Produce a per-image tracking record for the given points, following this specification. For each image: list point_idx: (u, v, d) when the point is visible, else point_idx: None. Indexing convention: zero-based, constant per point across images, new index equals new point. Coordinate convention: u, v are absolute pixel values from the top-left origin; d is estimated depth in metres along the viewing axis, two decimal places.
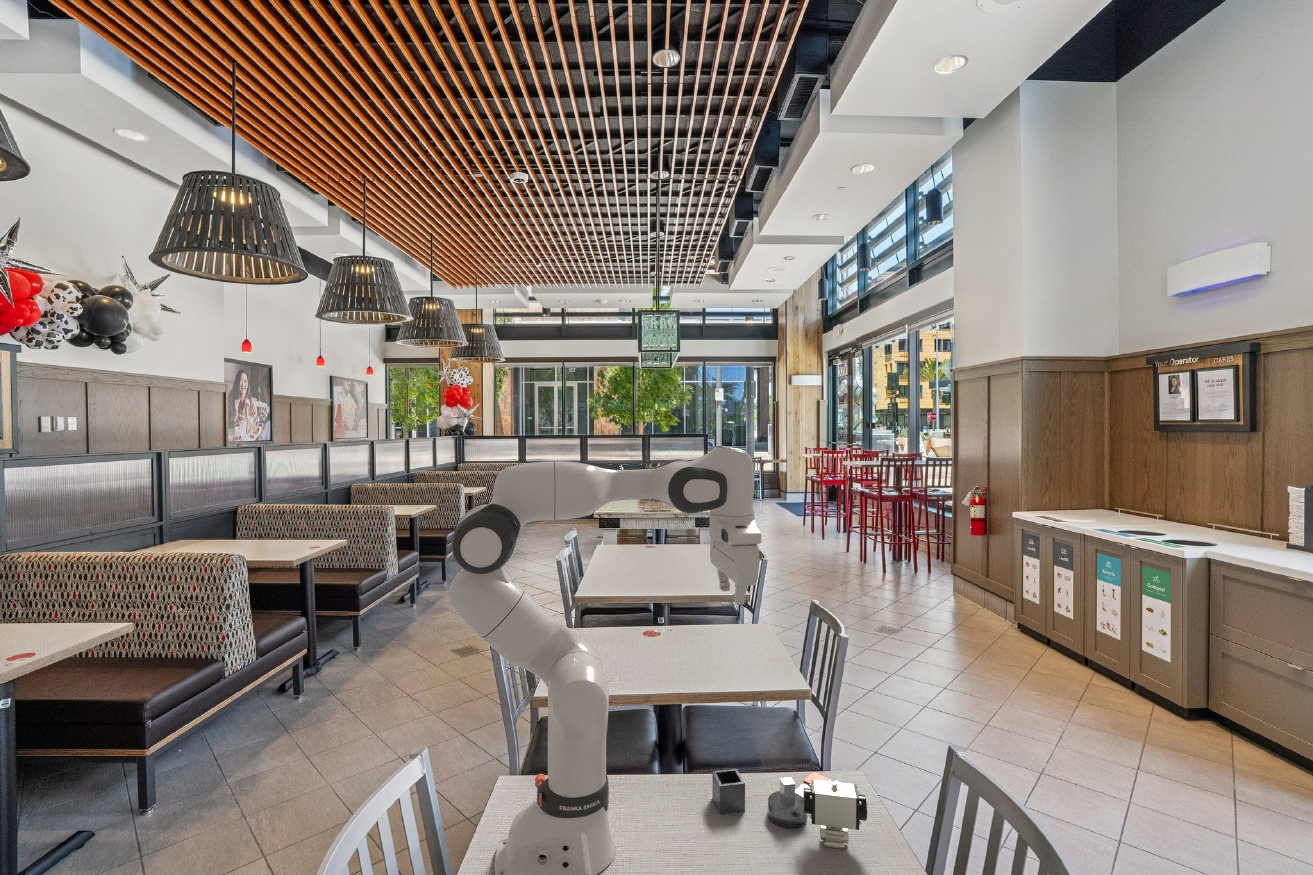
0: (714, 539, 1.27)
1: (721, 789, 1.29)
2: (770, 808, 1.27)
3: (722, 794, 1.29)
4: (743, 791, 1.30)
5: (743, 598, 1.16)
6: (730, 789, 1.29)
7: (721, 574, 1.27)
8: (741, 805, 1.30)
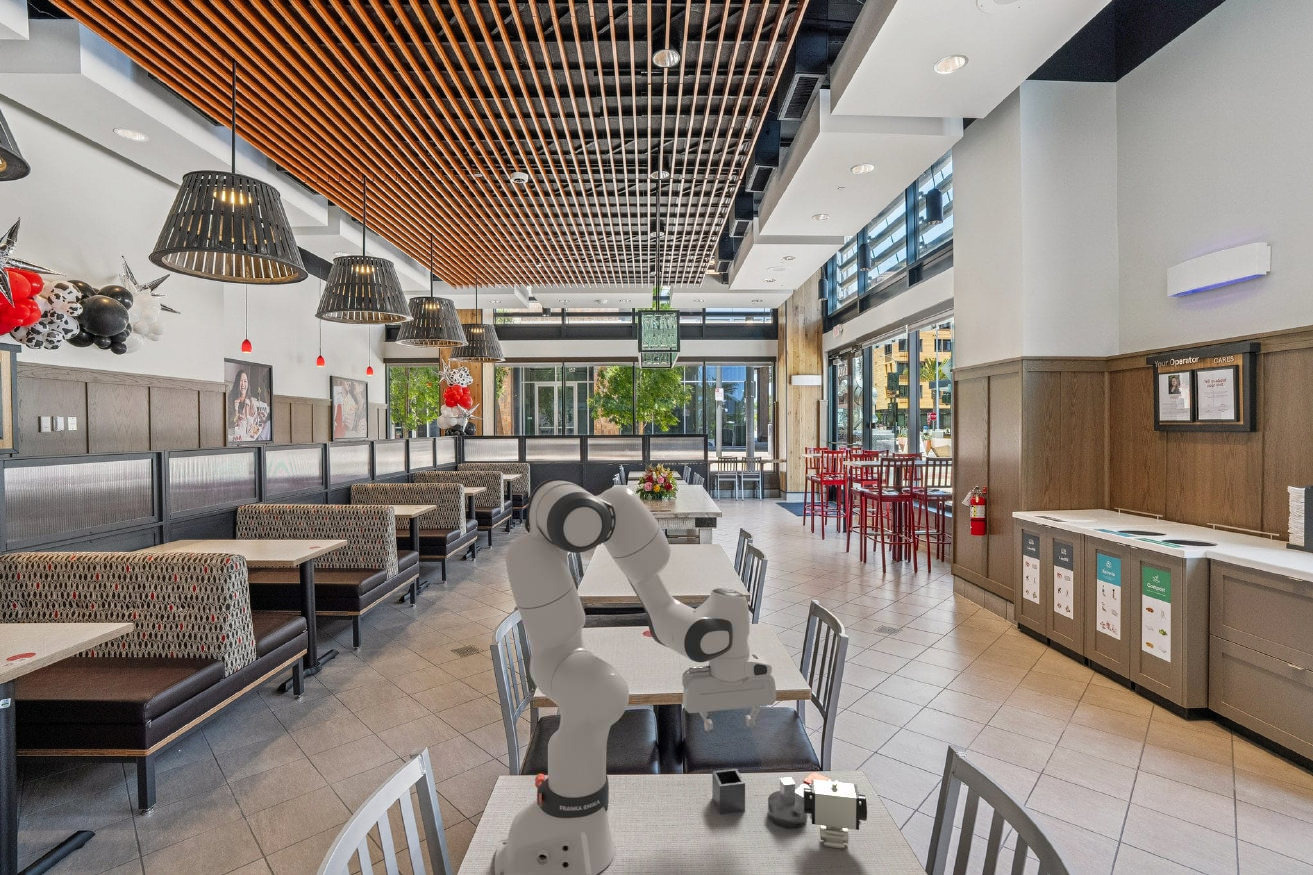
0: (703, 686, 1.29)
1: (721, 789, 1.29)
2: (770, 808, 1.27)
3: (722, 794, 1.29)
4: (743, 791, 1.30)
5: None
6: (730, 789, 1.29)
7: None
8: (741, 805, 1.30)
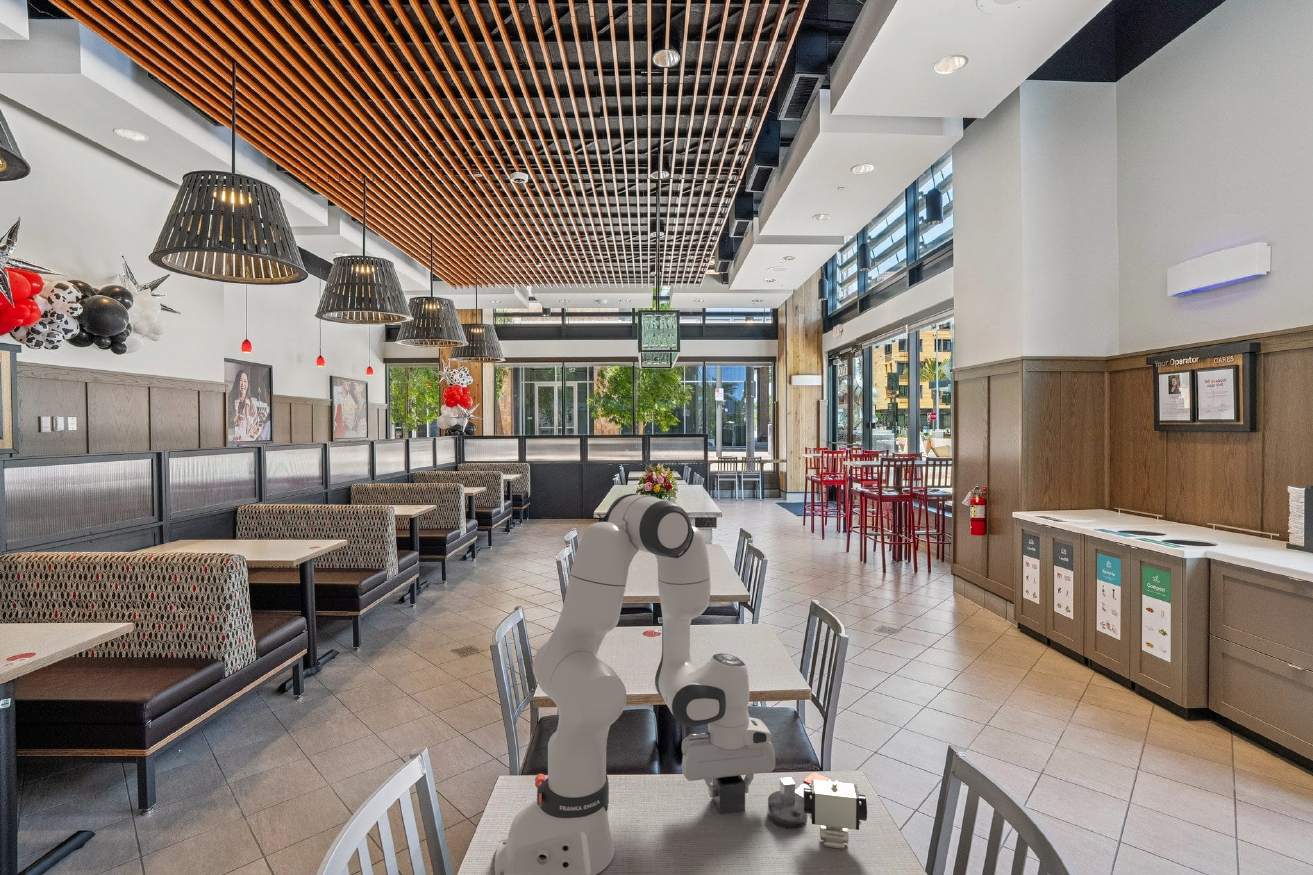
0: (702, 753, 1.29)
1: (721, 789, 1.29)
2: (770, 808, 1.27)
3: (722, 794, 1.29)
4: (743, 791, 1.30)
5: None
6: (730, 789, 1.29)
7: (709, 782, 1.31)
8: (741, 805, 1.30)
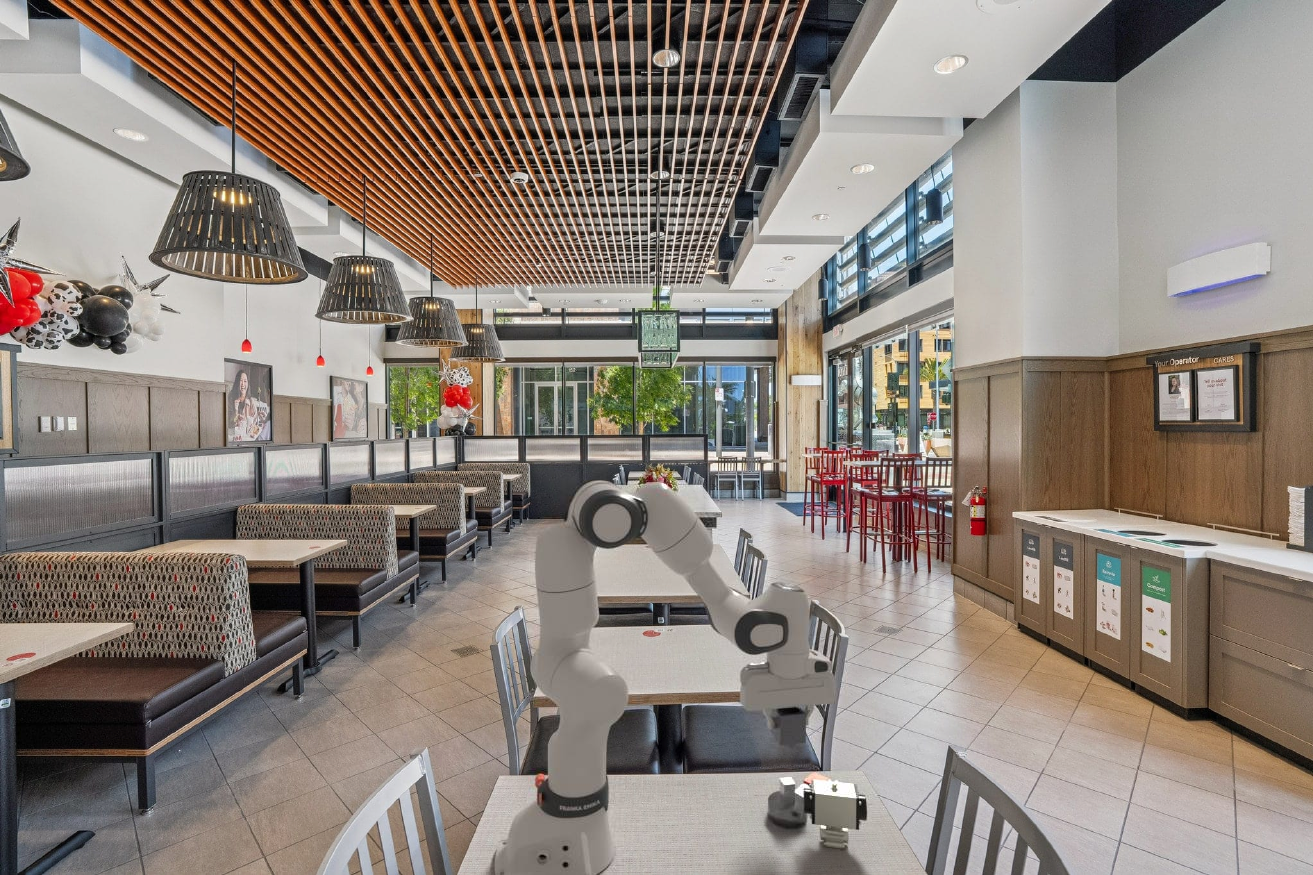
0: (762, 683, 1.25)
1: (782, 719, 1.25)
2: (770, 808, 1.27)
3: (782, 724, 1.25)
4: (804, 722, 1.25)
5: None
6: (791, 719, 1.25)
7: (768, 714, 1.26)
8: (802, 736, 1.25)
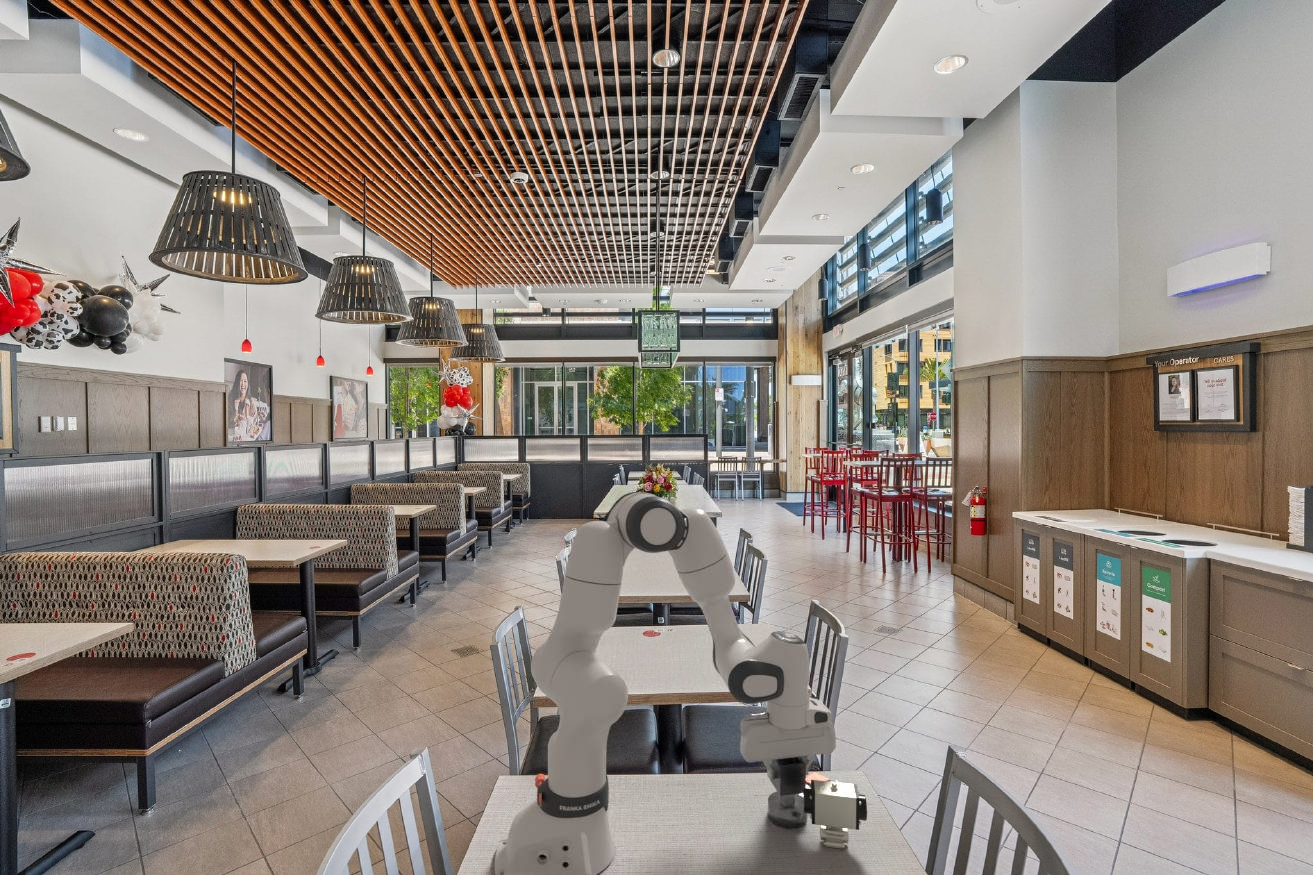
0: (762, 734, 1.25)
1: (781, 770, 1.25)
2: (770, 808, 1.27)
3: (782, 775, 1.25)
4: (804, 772, 1.26)
5: None
6: (791, 770, 1.25)
7: (768, 764, 1.27)
8: (802, 787, 1.26)
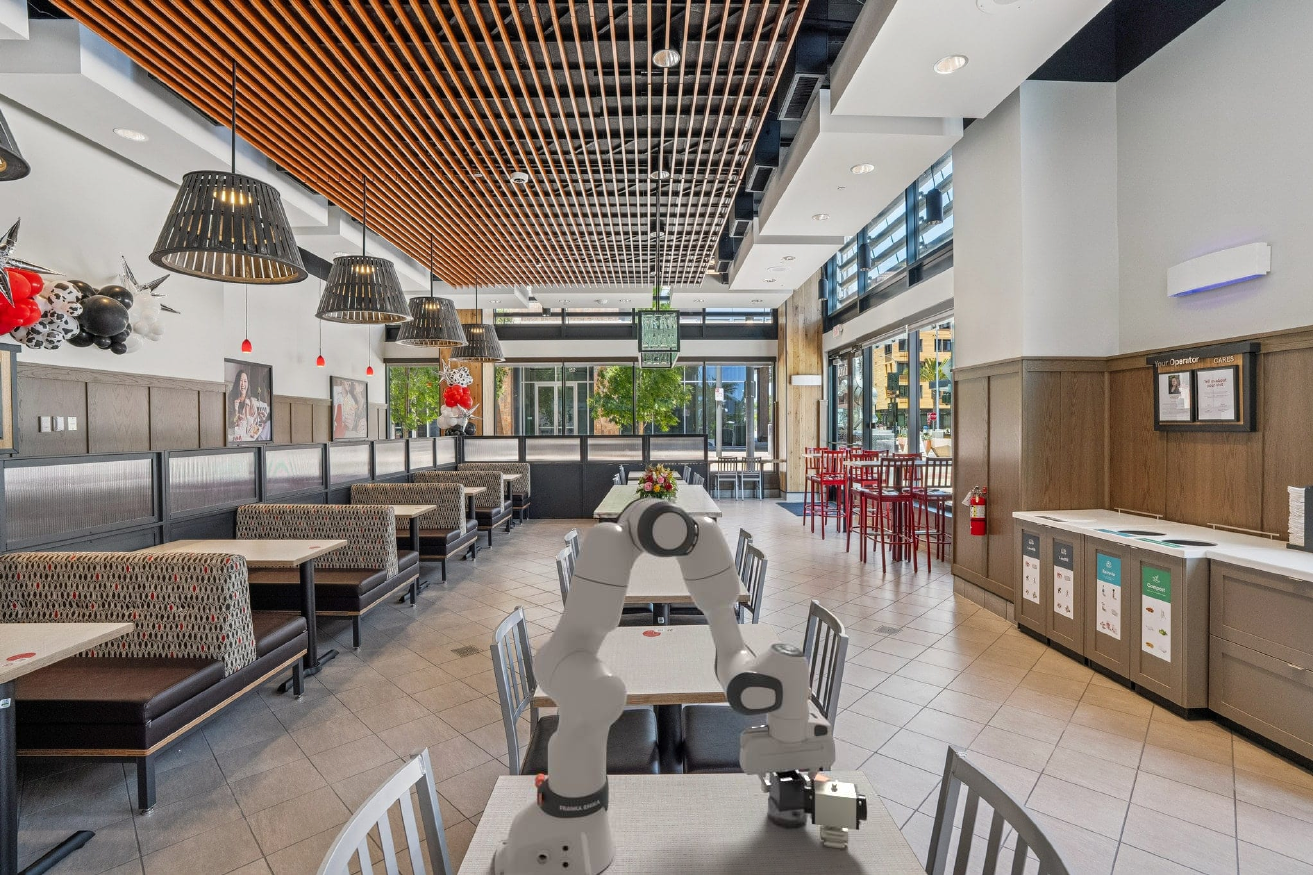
0: (762, 746, 1.25)
1: (781, 786, 1.25)
2: (770, 808, 1.27)
3: (782, 791, 1.25)
4: (803, 788, 1.26)
5: None
6: (790, 786, 1.25)
7: None
8: (801, 802, 1.26)
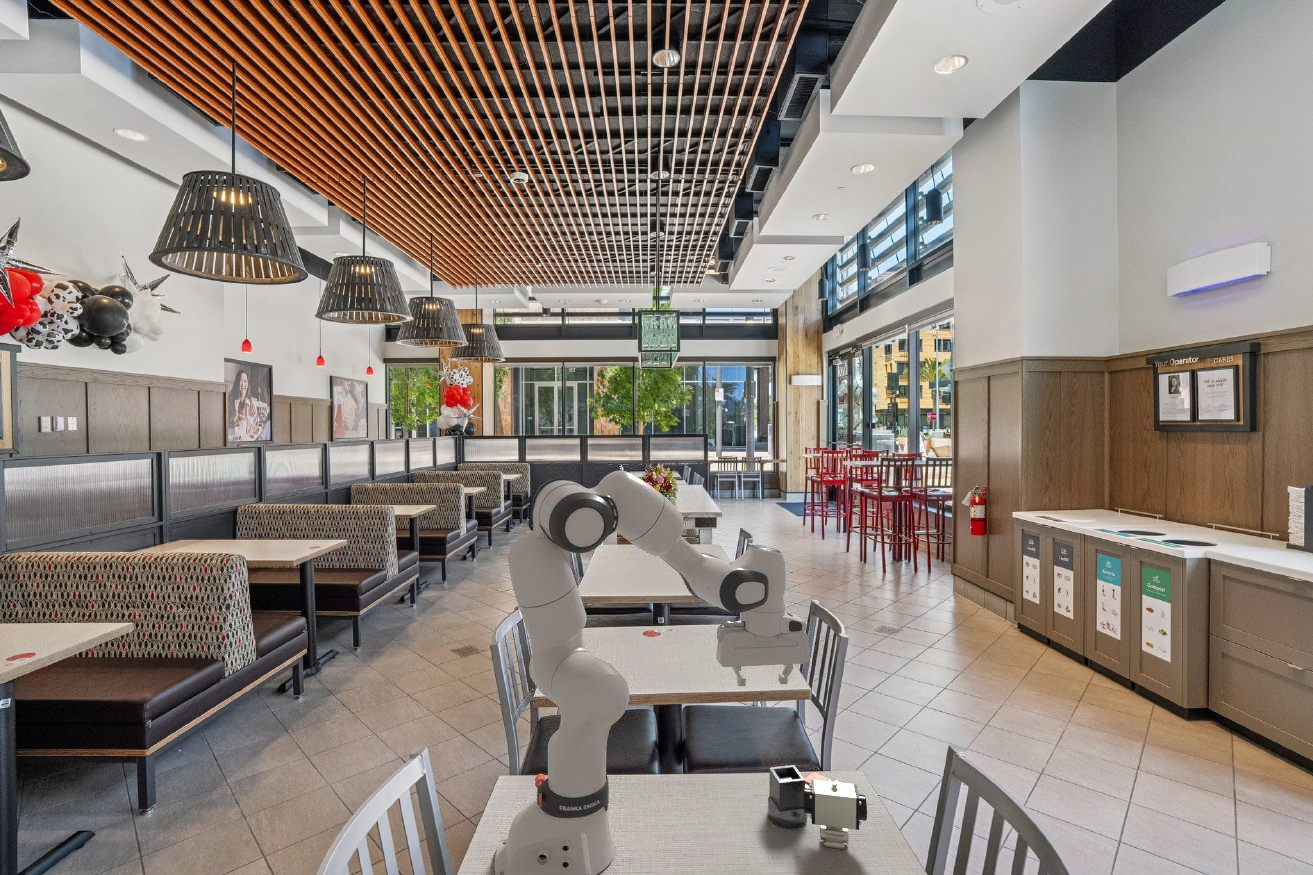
0: (738, 640, 1.29)
1: (781, 786, 1.25)
2: (770, 808, 1.27)
3: (782, 791, 1.25)
4: (803, 788, 1.26)
5: None
6: (790, 786, 1.25)
7: (738, 671, 1.30)
8: (801, 802, 1.26)
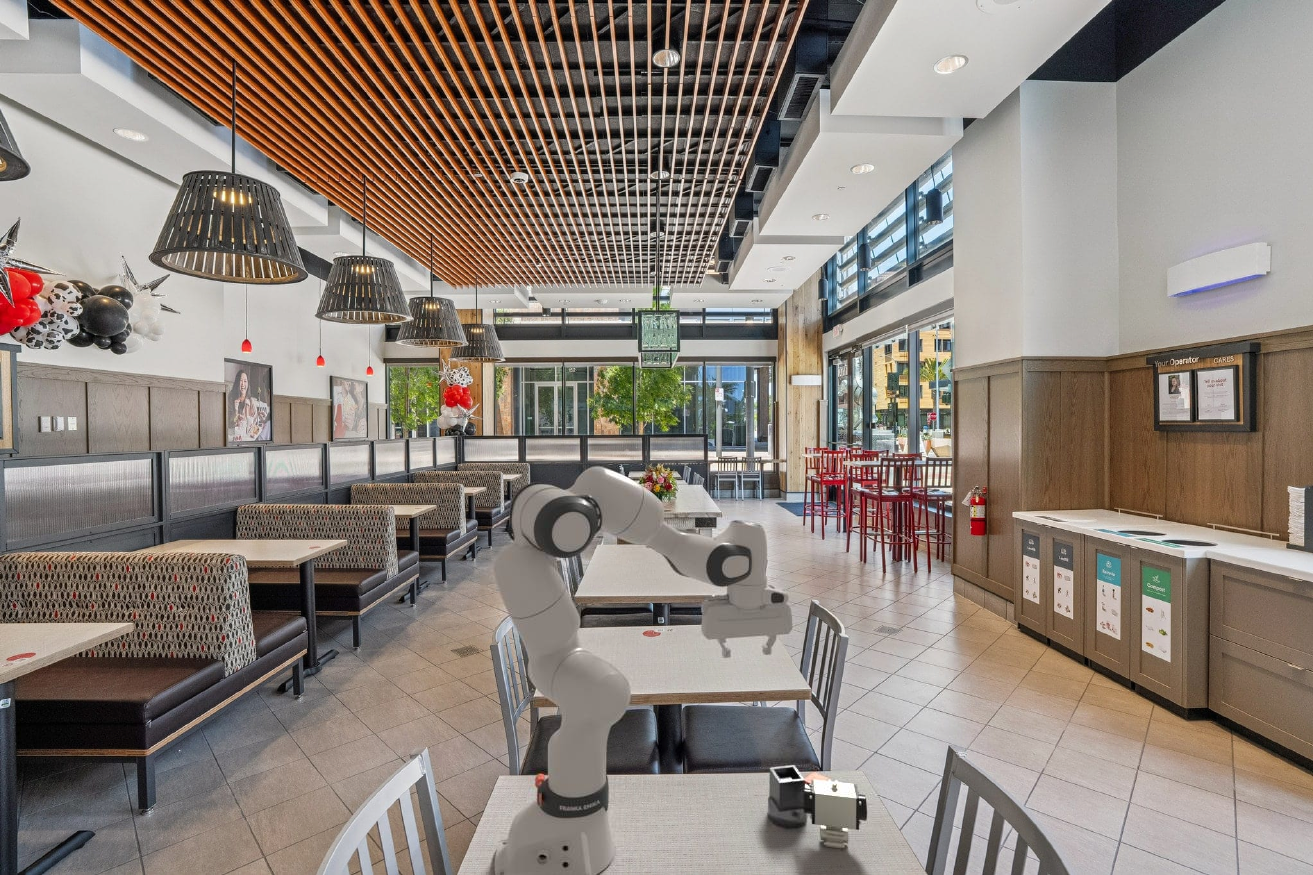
0: (722, 613, 1.32)
1: (781, 786, 1.25)
2: (770, 808, 1.27)
3: (782, 791, 1.25)
4: (803, 788, 1.26)
5: None
6: (790, 786, 1.25)
7: None
8: (801, 802, 1.26)
